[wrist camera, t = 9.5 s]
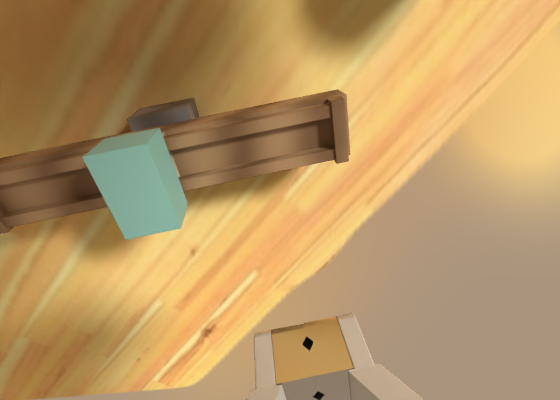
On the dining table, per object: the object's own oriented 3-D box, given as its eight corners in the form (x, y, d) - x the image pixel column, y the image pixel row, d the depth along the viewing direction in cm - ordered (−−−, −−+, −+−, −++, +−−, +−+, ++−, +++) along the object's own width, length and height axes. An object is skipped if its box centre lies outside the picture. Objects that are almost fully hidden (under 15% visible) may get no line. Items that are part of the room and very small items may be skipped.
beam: (325, 71, 29) (350, 83, 22) (331, 141, 33) (355, 170, 26) (5, 135, 29) (-64, 168, 22) (46, 200, 32) (-3, 245, 25)
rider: (163, 122, 23) (146, 143, 19) (190, 196, 26) (180, 228, 22) (110, 133, 23) (82, 157, 19) (143, 205, 26) (125, 239, 22)
